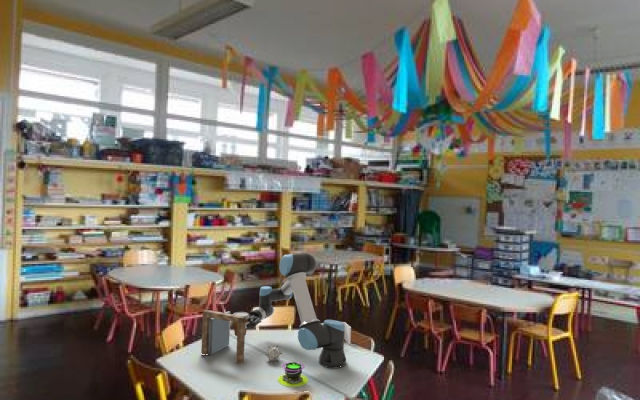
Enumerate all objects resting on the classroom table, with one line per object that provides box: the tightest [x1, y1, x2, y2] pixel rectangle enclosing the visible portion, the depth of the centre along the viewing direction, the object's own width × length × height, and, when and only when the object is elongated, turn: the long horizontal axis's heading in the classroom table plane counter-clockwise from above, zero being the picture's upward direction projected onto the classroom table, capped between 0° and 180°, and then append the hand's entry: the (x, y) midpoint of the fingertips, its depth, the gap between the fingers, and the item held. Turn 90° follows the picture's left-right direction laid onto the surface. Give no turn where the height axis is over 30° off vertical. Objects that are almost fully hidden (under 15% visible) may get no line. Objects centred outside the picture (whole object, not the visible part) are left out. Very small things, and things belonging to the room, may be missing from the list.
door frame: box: [200, 309, 246, 365], centre depth 253 cm, size 26×3×25 cm, turn 67°
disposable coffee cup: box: [233, 311, 249, 337], centre depth 262 cm, size 10×10×12 cm
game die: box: [265, 345, 283, 363], centre depth 253 cm, size 9×8×10 cm
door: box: [207, 311, 231, 356], centre depth 265 cm, size 19×4×20 cm, turn 157°
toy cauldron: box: [277, 359, 309, 388], centre depth 230 cm, size 15×15×11 cm
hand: (236, 325), depth 258 cm, fingers closed on disposable coffee cup, 8 cm apart
